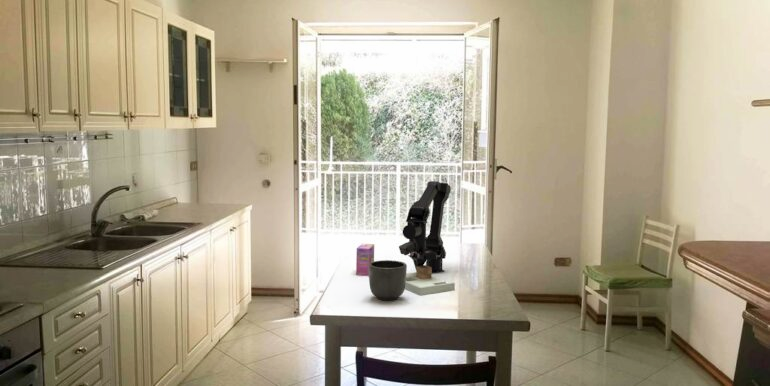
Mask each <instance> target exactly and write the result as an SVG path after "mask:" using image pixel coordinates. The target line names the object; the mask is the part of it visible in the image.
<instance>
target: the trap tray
mask: <svg viewBox="0 0 770 386" xmlns="http://www.w3.org/2000/svg"><path fill="white" fill-rule="evenodd" d="M455 286H456V283H455V282H448V283H447V282H446V280H443V279H440V278H437V277H434V276H432V278H430V279H420V278H417V277H416V272H415V271H414V272H408V273H407V272H406V284H405V290H407V291H409V292H411V293H413V294H416V295H419V296H425V295H431V294H437V293H444V292H451V291H455V290H456V289H455V288H456V287H455Z"/></svg>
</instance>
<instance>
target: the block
mask: <svg viewBox="0 0 770 386" xmlns="http://www.w3.org/2000/svg"><path fill="white" fill-rule="evenodd" d="M415 271H416V277H417V278H420V279H430V278H432V277H433V273H432V267H429V266H427V265H426V264H424V265H423V266H416V268H415Z"/></svg>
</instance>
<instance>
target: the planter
mask: <svg viewBox="0 0 770 386" xmlns="http://www.w3.org/2000/svg"><path fill="white" fill-rule="evenodd" d="M407 267H408V266H407V263H405V262H403V261H400V260H388V259H384V260H383V259H382V260H374V262H371V263H370V264H369V276H368V281H369V289H370V292H371V294H372V295H373V296H374V297H375V298H376V300H377V301H381V302H394V301H398V299H399V298H400V297H401V296H403V293H405V292H404V291H405V290H406V289H405V284H406V274H407V271H408V270H407Z"/></svg>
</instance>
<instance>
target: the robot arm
mask: <svg viewBox="0 0 770 386" xmlns="http://www.w3.org/2000/svg"><path fill="white" fill-rule="evenodd" d="M451 191H452V187H451V185H449V183H448V182H439V181H437V180H434V181H432V180H430V181H428V182H427V184H426V188H425V189H424V191H423V193H422V194H421V196H420V198H419V199H418V200H417V201H415V202H413V204H411V206H410V207H409V210H408V214H407V217H406V223H407V224H406V225H404V227H403V229H402V235H403V237H404V238H405V239H407V240H408V241H407V242H405V243H403V244H401V245H399V246H398V250H399V253H400V254H401V255H404V256H408V257H410V258H411V259H412V261H413V265H414V268H415V269H416V266H423V265H427V266H429V267H432V274H436V273H437V274H438V273H442V272H443V273H444V272H445V269H443V260H444V259H446V258H447V257H446V255H447V251H446V250H445V247H444V241H443V238H442V237H441V233H442V225H443V218H444V207H445V203H446V202H447V201H448V199H449V198H450V194H451ZM432 202H433V204H432ZM431 204H432V205H433V206H432V210H431V211H432V213H431V212H430V206H431ZM430 215H431V217H430V218H431V219H430V229H429V234H428V235H427V224H428V220H429V216H430Z"/></svg>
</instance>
